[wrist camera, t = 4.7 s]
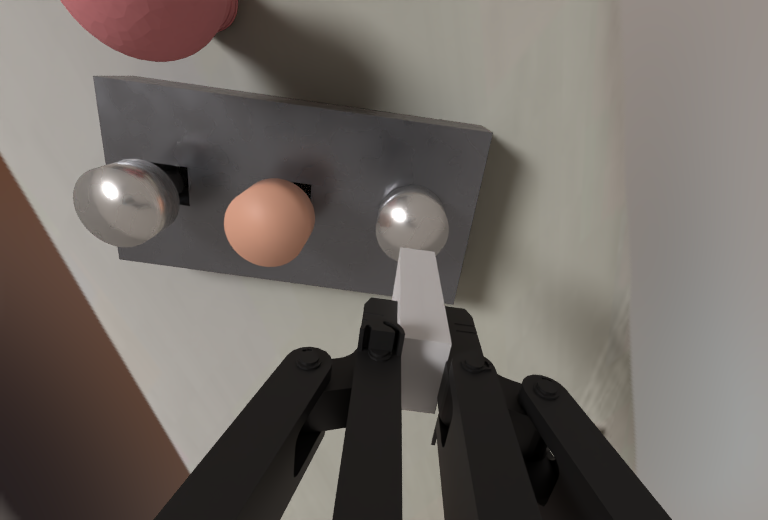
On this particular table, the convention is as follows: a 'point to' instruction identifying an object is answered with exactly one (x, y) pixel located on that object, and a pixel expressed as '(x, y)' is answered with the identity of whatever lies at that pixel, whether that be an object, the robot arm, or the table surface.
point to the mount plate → (291, 175)
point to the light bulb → (154, 25)
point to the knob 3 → (411, 221)
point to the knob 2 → (269, 222)
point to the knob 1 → (127, 201)
